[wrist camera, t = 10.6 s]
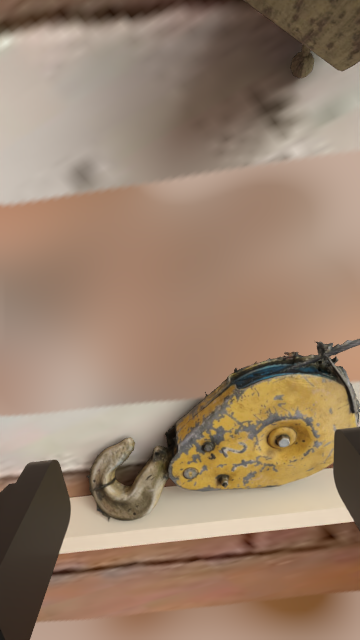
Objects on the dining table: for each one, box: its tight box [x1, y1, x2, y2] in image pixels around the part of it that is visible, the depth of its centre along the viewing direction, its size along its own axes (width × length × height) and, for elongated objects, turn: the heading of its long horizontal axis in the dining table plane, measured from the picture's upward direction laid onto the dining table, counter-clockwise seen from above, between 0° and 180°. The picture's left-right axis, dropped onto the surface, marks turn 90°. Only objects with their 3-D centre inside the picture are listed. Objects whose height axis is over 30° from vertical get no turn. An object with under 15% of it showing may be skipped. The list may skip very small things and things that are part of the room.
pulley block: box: [87, 339, 360, 522], centre depth 33 cm, size 14×6×30 cm
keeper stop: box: [59, 468, 354, 554], centre depth 34 cm, size 48×4×7 cm, turn 97°
